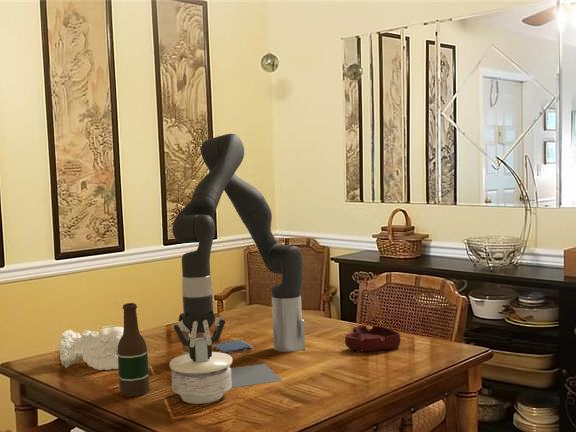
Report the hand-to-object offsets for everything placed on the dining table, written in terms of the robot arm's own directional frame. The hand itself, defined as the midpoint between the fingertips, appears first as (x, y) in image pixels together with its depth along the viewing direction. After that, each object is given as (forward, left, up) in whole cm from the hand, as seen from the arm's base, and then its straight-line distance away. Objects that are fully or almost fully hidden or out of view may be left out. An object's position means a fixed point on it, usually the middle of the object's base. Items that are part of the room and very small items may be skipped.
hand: (200, 359), depth 181 cm
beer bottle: (+16, -12, -11) cm, 23 cm away
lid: (0, 0, -1) cm, 1 cm away
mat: (-14, -12, -10) cm, 21 cm away
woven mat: (-18, -42, -11) cm, 47 cm away
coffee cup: (-4, -34, -11) cm, 36 cm away
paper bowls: (0, 0, -11) cm, 11 cm away
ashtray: (-60, -25, -11) cm, 66 cm away
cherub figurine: (+24, -44, -11) cm, 51 cm away
